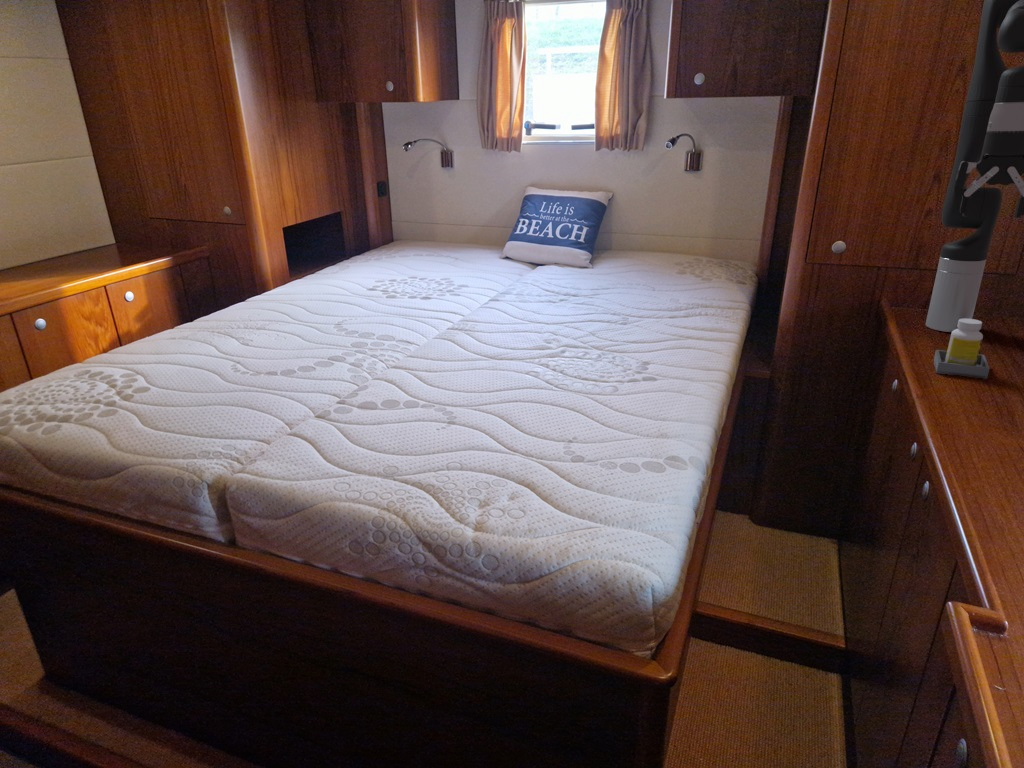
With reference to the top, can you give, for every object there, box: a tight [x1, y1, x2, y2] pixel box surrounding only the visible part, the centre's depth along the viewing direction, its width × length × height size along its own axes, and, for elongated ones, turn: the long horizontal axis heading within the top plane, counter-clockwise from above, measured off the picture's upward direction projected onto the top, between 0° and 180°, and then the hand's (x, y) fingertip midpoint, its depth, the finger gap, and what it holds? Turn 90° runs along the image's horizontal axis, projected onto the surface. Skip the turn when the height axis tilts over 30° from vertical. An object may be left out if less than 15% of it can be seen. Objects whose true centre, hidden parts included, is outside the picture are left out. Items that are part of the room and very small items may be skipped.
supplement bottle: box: [945, 318, 984, 366], centre depth 134 cm, size 5×5×10 cm
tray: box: [933, 349, 991, 380], centre depth 136 cm, size 9×9×2 cm
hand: (990, 216), depth 130 cm, fingers open, 8 cm apart
